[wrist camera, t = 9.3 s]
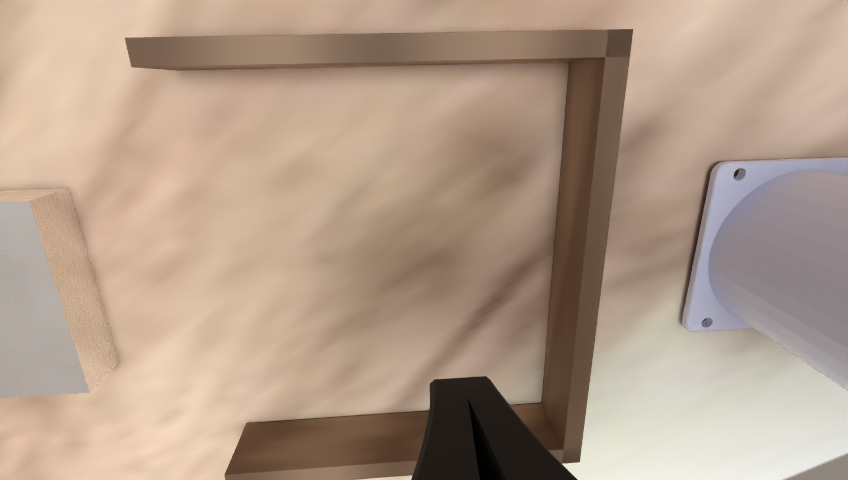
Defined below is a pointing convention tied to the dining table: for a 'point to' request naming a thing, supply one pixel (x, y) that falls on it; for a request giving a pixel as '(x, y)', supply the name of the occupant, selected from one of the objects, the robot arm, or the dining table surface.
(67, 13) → the dining table surface
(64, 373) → the cover plate
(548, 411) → the brown u-shaped frame
